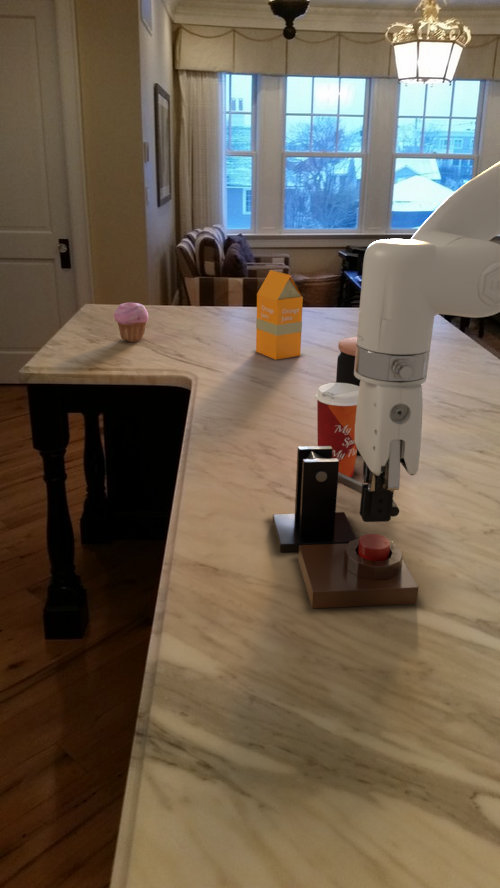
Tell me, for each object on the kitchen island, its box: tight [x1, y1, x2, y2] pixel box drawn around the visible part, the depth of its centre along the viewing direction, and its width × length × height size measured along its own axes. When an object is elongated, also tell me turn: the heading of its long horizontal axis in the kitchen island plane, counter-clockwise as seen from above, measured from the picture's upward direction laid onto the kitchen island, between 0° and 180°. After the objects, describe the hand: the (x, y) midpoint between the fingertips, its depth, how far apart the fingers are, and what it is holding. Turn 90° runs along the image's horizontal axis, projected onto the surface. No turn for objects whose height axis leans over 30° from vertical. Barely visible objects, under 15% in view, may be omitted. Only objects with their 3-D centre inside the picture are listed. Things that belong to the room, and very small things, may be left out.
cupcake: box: [113, 301, 149, 343], centre depth 185 cm, size 9×9×10 cm
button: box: [358, 533, 391, 561], centre depth 82 cm, size 4×4×2 cm
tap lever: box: [307, 451, 400, 518], centre depth 91 cm, size 13×6×2 cm, turn 96°
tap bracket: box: [272, 445, 357, 553], centre depth 91 cm, size 10×8×12 cm
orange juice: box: [255, 269, 304, 361], centre depth 173 cm, size 8×9×20 cm
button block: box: [297, 537, 420, 609], centre depth 83 cm, size 12×10×4 cm
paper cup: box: [314, 382, 359, 478], centre depth 109 cm, size 8×8×14 cm
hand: (374, 518), depth 80 cm, fingers closed
